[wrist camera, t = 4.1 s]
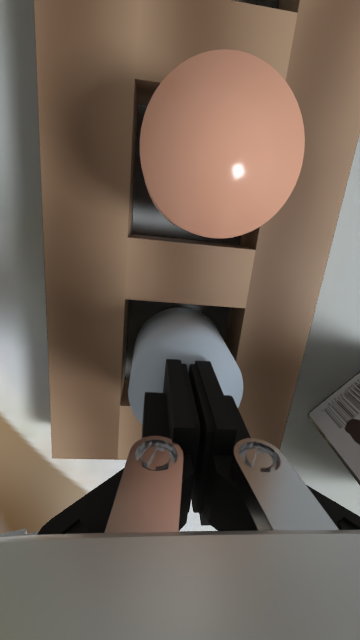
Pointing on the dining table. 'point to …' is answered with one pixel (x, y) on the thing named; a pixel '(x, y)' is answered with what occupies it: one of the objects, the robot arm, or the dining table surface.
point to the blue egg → (179, 354)
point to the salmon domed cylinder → (221, 144)
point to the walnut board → (171, 253)
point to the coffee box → (342, 424)
